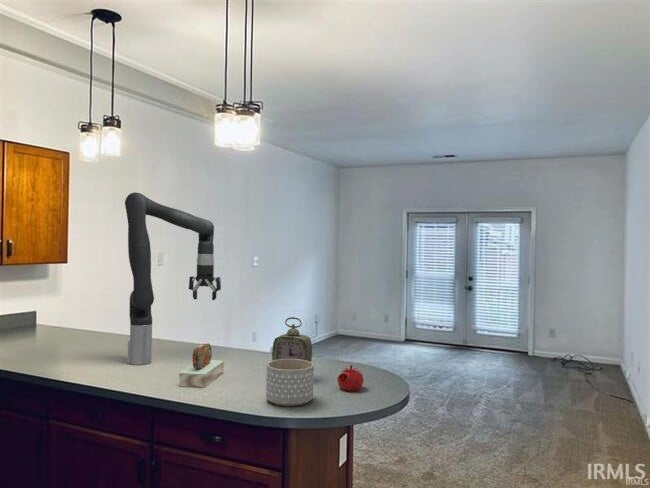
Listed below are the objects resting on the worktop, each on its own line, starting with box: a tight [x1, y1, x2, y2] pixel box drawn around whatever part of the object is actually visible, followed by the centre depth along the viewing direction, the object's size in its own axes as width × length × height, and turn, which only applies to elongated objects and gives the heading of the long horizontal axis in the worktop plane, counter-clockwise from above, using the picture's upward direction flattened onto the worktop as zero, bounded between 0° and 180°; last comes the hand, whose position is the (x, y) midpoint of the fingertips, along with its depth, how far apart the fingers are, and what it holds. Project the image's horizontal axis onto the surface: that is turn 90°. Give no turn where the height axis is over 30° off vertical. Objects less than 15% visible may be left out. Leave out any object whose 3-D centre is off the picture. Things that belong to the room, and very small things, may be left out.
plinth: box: [178, 359, 225, 388], centre depth 201 cm, size 10×22×5 cm, turn 173°
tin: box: [191, 343, 212, 369], centre depth 201 cm, size 15×3×8 cm, turn 173°
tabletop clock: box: [271, 316, 313, 362], centre depth 204 cm, size 14×9×25 cm, turn 75°
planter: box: [265, 359, 315, 407], centre depth 177 cm, size 16×16×13 cm
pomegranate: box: [337, 364, 364, 392], centre depth 192 cm, size 10×10×9 cm
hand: (204, 299), depth 230 cm, fingers open, 8 cm apart
